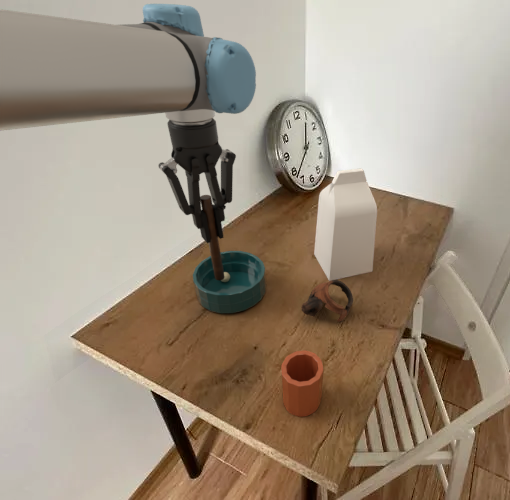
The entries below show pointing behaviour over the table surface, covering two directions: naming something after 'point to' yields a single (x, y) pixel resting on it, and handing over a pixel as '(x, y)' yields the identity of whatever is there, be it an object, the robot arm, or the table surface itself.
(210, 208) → the stirring stick
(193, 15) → the robot arm
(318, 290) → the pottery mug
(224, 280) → the bead
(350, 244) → the milk
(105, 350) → the table surface
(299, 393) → the crock
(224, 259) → the bowl
